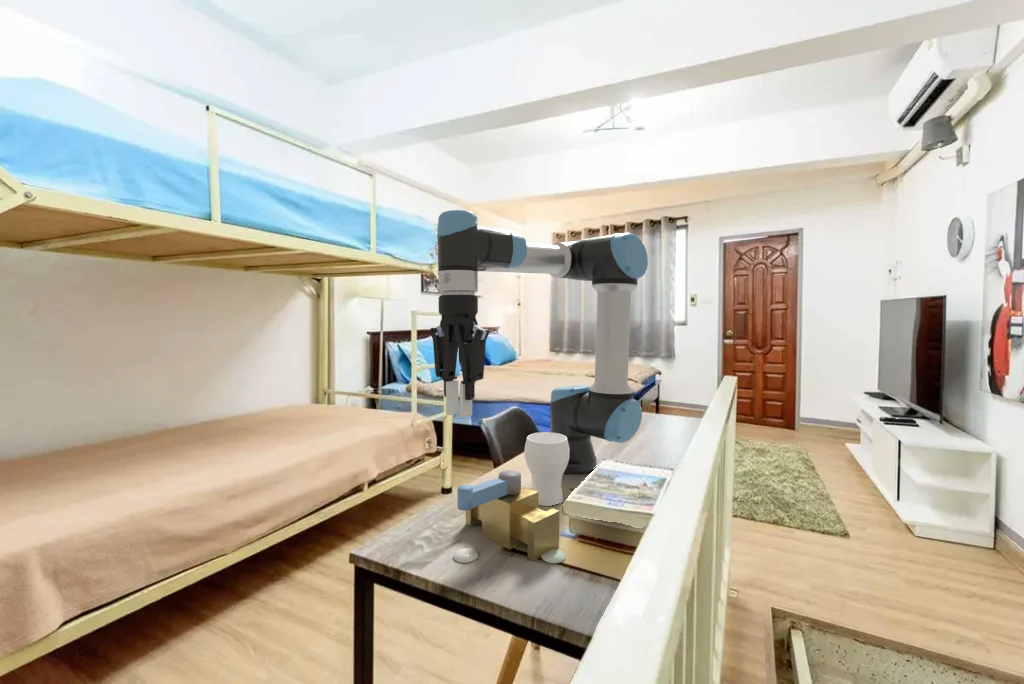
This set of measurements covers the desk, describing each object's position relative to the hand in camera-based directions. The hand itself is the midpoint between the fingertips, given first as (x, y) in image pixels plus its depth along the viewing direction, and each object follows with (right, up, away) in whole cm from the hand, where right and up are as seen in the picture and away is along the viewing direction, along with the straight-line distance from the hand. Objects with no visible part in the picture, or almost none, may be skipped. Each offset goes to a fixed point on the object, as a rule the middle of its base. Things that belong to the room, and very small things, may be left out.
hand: (459, 414), depth 87 cm
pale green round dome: (+18, -25, -6) cm, 31 cm away
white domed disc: (+2, -25, -6) cm, 26 cm away
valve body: (+10, -24, +2) cm, 26 cm away
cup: (+19, -24, +19) cm, 36 cm away
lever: (+6, -16, -2) cm, 17 cm away
